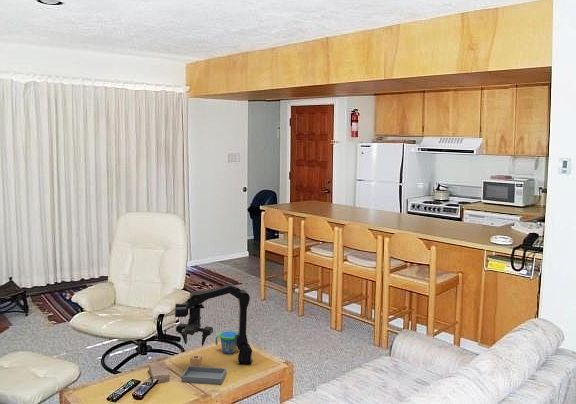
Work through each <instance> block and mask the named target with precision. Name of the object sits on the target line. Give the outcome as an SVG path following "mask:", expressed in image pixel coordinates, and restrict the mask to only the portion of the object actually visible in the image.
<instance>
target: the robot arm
mask: <svg viewBox="0 0 576 404" xmlns="http://www.w3.org/2000/svg"><path fill="white" fill-rule="evenodd" d="M228 294H230V295H232V296H233V297H235V298H236V299H237V302H238V312H239V313H238V332H237V333H238V335H235V344H236V348H237V350H239V353H238V356H237V357H238V358H237V359H238V361H237V362H238V365H241V366H242V365H243V366H251V365H252V363H253V356H252V355H253V349H252V346H251V345H250V344H249V341H248V337H247V317H248V313H247V312H248V306H249V303H250V300H251V296H250V293H248V291H247V290H246V289H241V288H239V287H236V286H234V285H233V284H230V283H229V284H227V285H223V286H219V287H216V288H211V289H207V290H195V291H194V290H193V291H191V293H190V294H189V297H188V298H187V300H186V301H185V303H175V308H174V318H186V317H189V318H188V319H187V323H182V322H180V323H179V324H177V326H176V327H175V332H176V333H178V334H180V335H181V337H182V339H183V342H184V344H185V345H187V342H188V335H190V336H194V335H195V333H200V332H201V333H202V335H201V347H204V344H205V342H206V339H207V337H208V336H211V335H212V334H213V333H214V328H213V327H212V326H208V325H206V326H204V327H202V324H201V319H202V316H201V312H202V311H201V309H205V305H204V304H203V303H204V302H206V301H207V300H210V299H213V298H217V297H221V296H225V295H228Z"/></svg>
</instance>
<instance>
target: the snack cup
mask: <svg viewBox="0 0 576 404" xmlns="http://www.w3.org/2000/svg"><path fill="white" fill-rule="evenodd" d="M235 335H238V332H237V331H232V330H228V331H222V332H221V333H219V334H218V335H217V336H216V337H215V345H216V346H217V345H218V343H219V342H218V337H219V339H220V343H221V345H220V346H221V351H222V353H224V354H234V353H235V352H236V351H237V346H236V344H235Z"/></svg>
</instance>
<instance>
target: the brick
mask: <svg viewBox="0 0 576 404" xmlns="http://www.w3.org/2000/svg"><path fill="white" fill-rule="evenodd" d="M148 373H149V375H150V377H152V378H153V379H157V380H159V383H158V384H162V383H164V384H165V383H169V382H170V377H171V376H170V371H169V369H168V368H167V363H166V361H165V360H159V361H155V362H149V363H148ZM152 378H151V379H152Z"/></svg>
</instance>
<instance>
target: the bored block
mask: <svg viewBox="0 0 576 404" xmlns="http://www.w3.org/2000/svg"><path fill="white" fill-rule="evenodd" d="M189 363H190V364H189V366H197V367H202V365H203V355H201V354H200V355H198V354H192V355H191V357H190V358H189Z"/></svg>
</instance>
